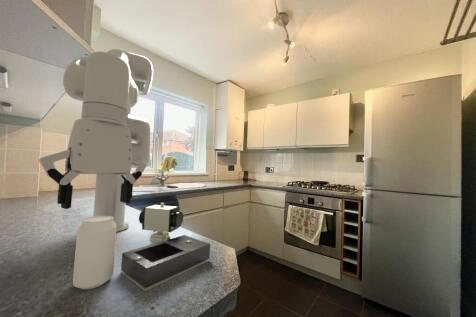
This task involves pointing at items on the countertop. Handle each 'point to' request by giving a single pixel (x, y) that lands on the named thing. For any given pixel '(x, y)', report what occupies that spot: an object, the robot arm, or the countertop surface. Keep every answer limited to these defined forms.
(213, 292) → the countertop surface
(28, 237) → the countertop surface
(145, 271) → the grey pocketed holder block
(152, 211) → the pneumatic valve
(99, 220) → the beverage can
